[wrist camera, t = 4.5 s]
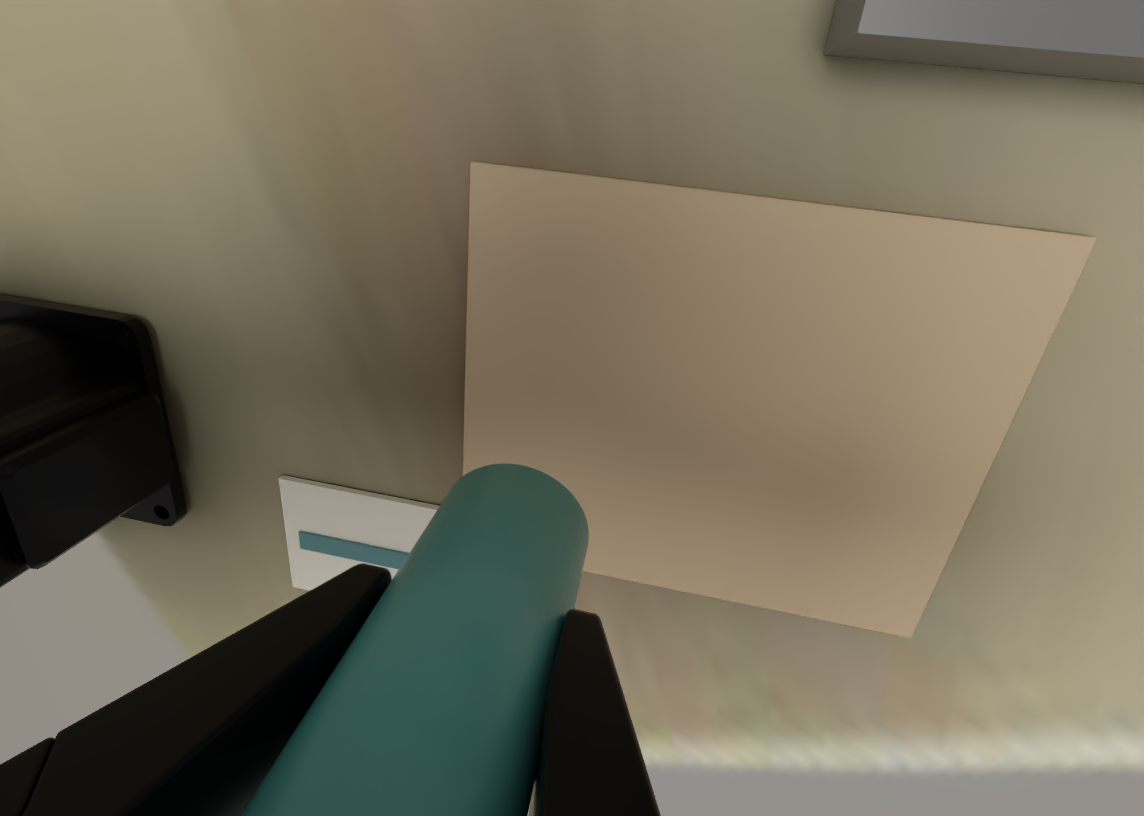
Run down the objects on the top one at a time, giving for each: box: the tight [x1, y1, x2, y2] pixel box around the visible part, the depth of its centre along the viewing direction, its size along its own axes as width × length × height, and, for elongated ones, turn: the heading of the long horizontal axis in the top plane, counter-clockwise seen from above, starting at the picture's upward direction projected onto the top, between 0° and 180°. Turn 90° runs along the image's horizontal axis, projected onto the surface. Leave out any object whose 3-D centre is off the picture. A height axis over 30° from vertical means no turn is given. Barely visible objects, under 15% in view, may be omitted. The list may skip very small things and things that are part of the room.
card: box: [279, 475, 440, 590], centre depth 18 cm, size 5×4×1 cm
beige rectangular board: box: [463, 161, 1097, 638], centre depth 14 cm, size 12×10×1 cm
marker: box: [240, 463, 589, 816], centre depth 6 cm, size 2×2×8 cm
